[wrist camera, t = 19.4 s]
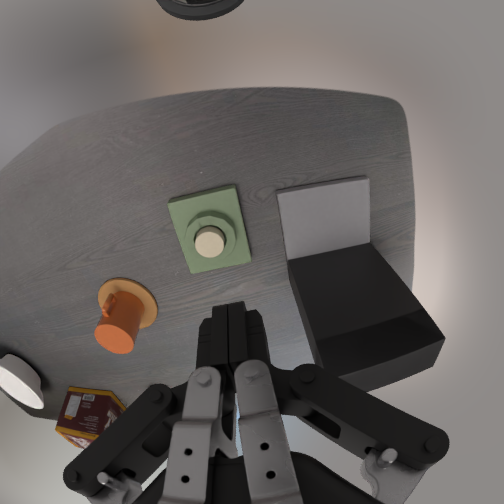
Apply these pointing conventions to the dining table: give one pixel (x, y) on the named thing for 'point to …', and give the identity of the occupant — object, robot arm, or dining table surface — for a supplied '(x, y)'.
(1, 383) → the bowl
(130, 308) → the cup
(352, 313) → the l-shaped bookend
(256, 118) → the dining table surface
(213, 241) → the power button
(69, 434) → the supplement box
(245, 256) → the button block
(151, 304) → the coaster
